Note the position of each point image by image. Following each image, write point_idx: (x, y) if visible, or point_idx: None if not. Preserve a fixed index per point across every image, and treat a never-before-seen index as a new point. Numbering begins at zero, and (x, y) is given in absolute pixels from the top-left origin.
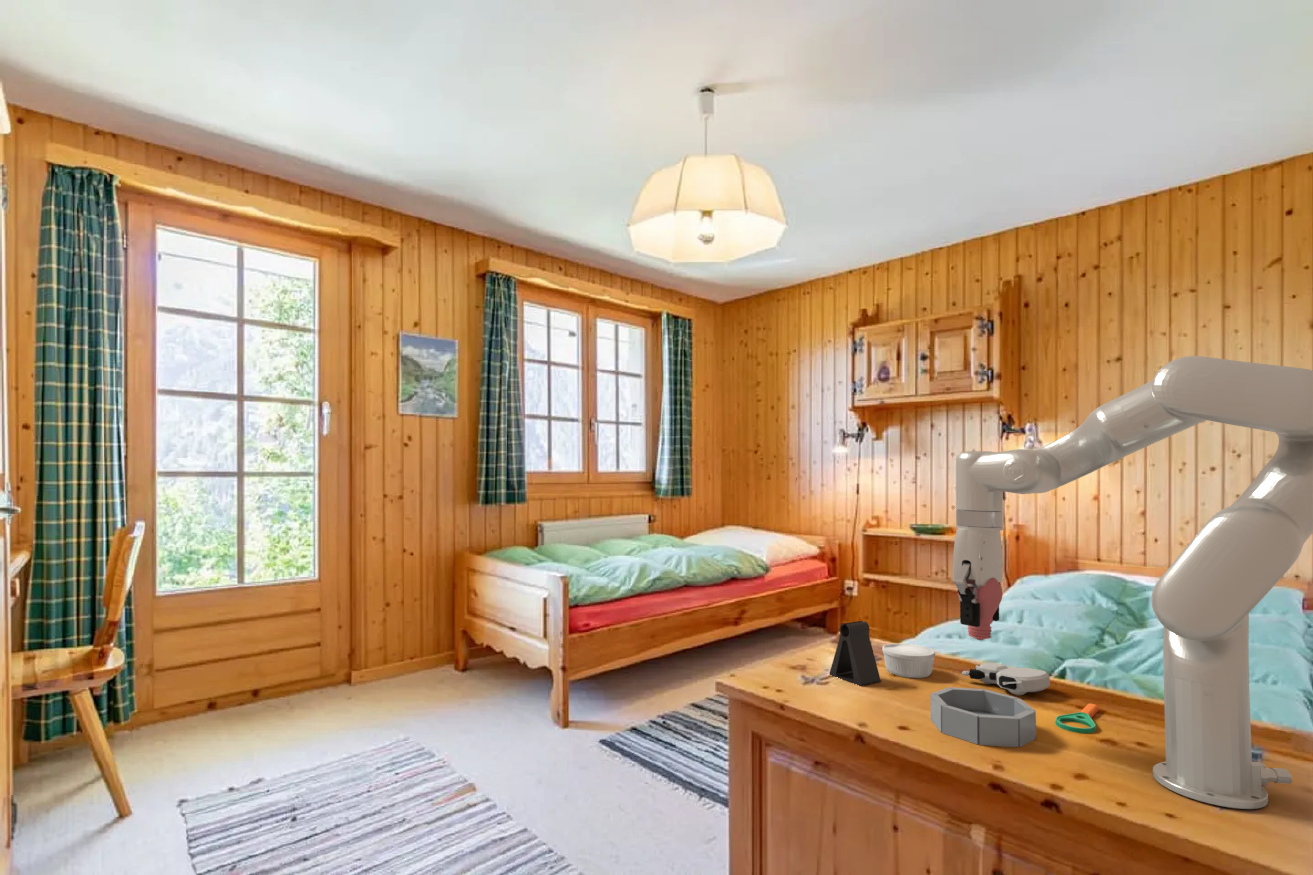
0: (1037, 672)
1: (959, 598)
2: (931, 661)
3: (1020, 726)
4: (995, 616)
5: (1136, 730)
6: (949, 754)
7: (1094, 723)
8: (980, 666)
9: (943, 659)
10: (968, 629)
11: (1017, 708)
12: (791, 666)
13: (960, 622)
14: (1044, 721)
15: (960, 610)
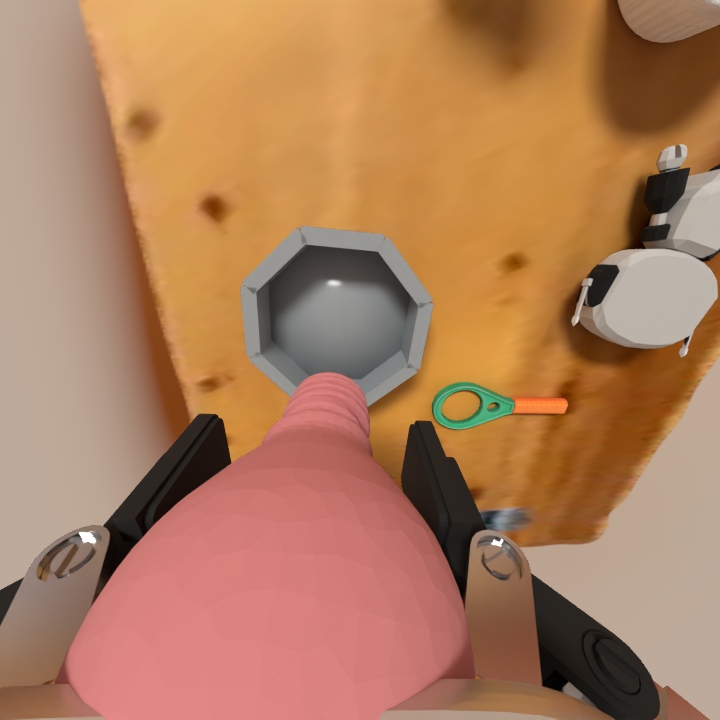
0: (667, 329)
1: (48, 552)
2: (705, 23)
3: None
4: (404, 490)
5: (496, 453)
6: (184, 325)
7: (470, 426)
8: (705, 189)
9: None
10: (297, 392)
11: (393, 367)
12: None
13: (199, 414)
14: (452, 370)
15: (160, 460)
